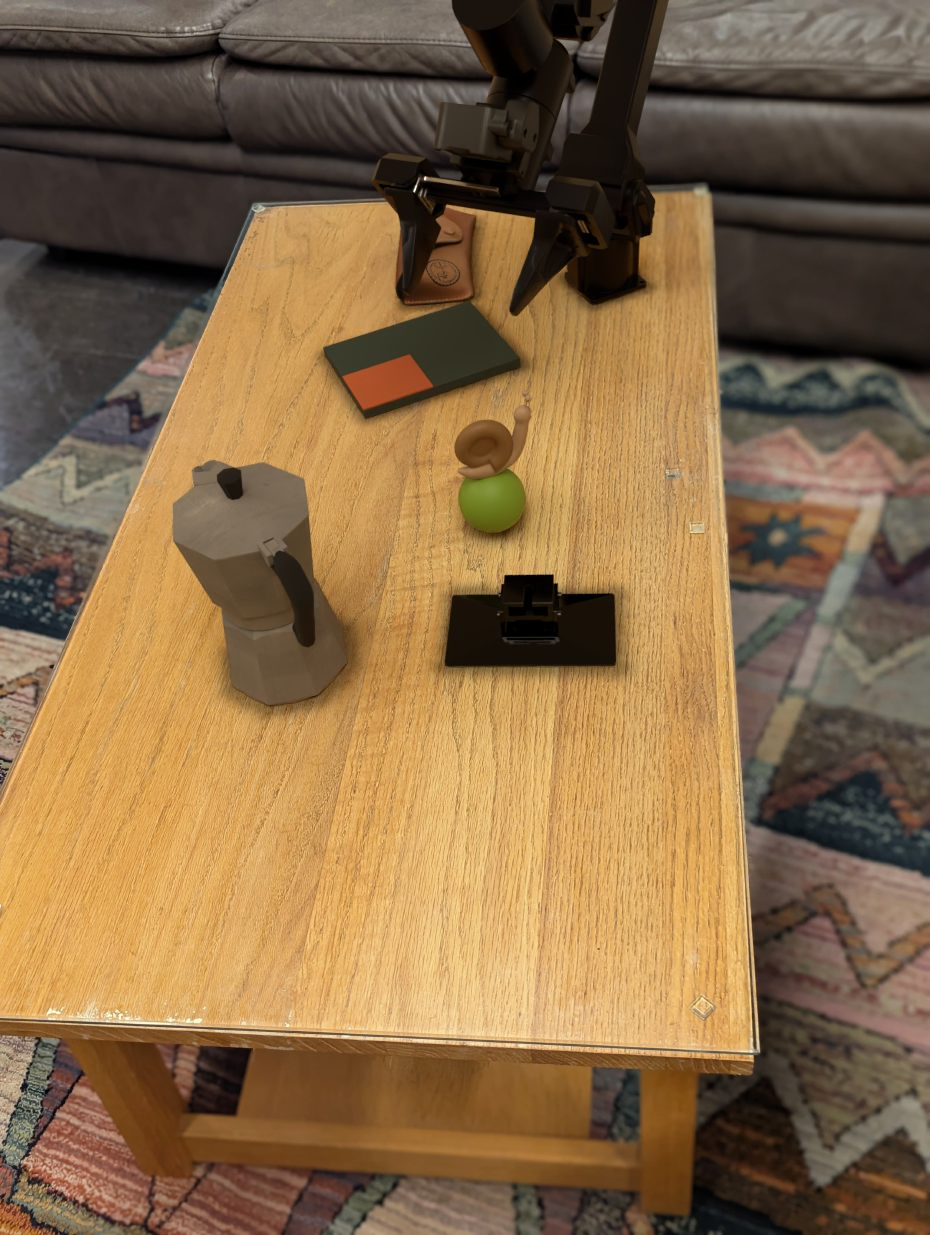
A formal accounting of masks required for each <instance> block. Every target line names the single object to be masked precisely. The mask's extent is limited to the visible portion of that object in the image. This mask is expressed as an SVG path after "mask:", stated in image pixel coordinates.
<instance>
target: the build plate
mask: <svg viewBox="0 0 930 1235" xmlns="http://www.w3.org/2000/svg"><path fill="white" fill-rule="evenodd" d="M450 602H451V603H450V609H449V621H448V628H447V637H446V646H445V653H444V654H445V655H444V667H446V668H615V667H616V666H617V635H616V634H617V633H616V632H617V631H616V597H615V593H612V592H611V593H610V592H609V593H603V592H602V593H600V592H599V593H597V592H596V593H595V592H594V593H562V592H561V591H559V583H557V582H555V574H554V573H553V574H552V573H545V574H543V573H542V574H541V573H540V574H504V575H503V583H500V592H498V593H497V594H493V593H491V594H489V593H488V594H480V593H473V594H472V593H471V594H469V593H468V594H467V593H466V594H464V593H463V594H454V595H452V596H451V601H450Z"/></svg>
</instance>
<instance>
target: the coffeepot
mask: <svg viewBox="0 0 930 1235" xmlns="http://www.w3.org/2000/svg"><path fill="white" fill-rule="evenodd" d="M191 474H192V482H193V486H192V487H191V488H190V489H188V491H186V492H185V493H184V494H183V495H181V497H179V498H178V499H176V500H175V501H174V502H173V503H172V542H173V543H174V544H175V546H176V547H177V549H178V551H179V552H180V554H181V556H182V557H183V559H184V560H185V562H186V563H187V565H188V566H189V568H190V569H191V571H192V573H193V574H194V576H195V577H196V579H197V581H198V582H199V584H200V585H201V587H202V588H203V590H204V591H205V593H206V595H207V596H208V598H209V599H210V601H211V602H212V604H214V605H215V606H217V607H219V608H220V609H221V618H222V627H223V633H224V640H225V649H226V654H227V662H228V670H229V676H230V682H231V683H230V684H231V687H232V688H234V689H236V690H238V691H239V692H241V693H243V694H244V695H245V696H247V697H248V698H250V699H252V700H254V701H257V702H259V703H263V704H265V705H267V706H275V705H288V704H294V703H297V702H298V703H299V702H301V701H305V700H307V699H309V698H312V697H315V696H318V695H319V694H320V693H321V692H323V691H324V690H325V689H326V688H327V687H328V686H330V685H331V684H332V683H333V682H334V681H335V680H336V678H337V677H338V676H339V674H340V673H341V671H342V669H343V668H344V667H345V666H346V664H347V663H348V657H347V656H348V655H347V649H346V643H345V637H344V630H343V626H342V625H341V623H340V621H339V619H338V617H337V615H336V613H335V612H334V610H333V608H332V606H331V604H330V602H329V600H328V598H327V596H326V594H325V592H324V591H323V589H322V587H321V585H320V584H319V582H318V580H317V578H316V577H315V572H314V562H313V561H314V560H313V549H312V548H313V547H312V537H311V536H312V535H311V525H310V511H309V503H308V496H307V489H306V481H305V480H306V479H305V478H304V477H301V476H299V475H297V474H294V473H291V472H289V471H286V470H285V469H282V468H280V467H277V466H274V465H272V464H269V463H267V462H264V461H262V462H257V463H253V464H252V463H251V464H246V465H241V466H237V467H236V466H235V467H234V466H232V465H230V464H227V463H225V462H222V461H220V460H216V459H211V460H208V461H206V462H204V463H203V464H202V465H196V466H195V467H194V468H193V469H191Z"/></svg>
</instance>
